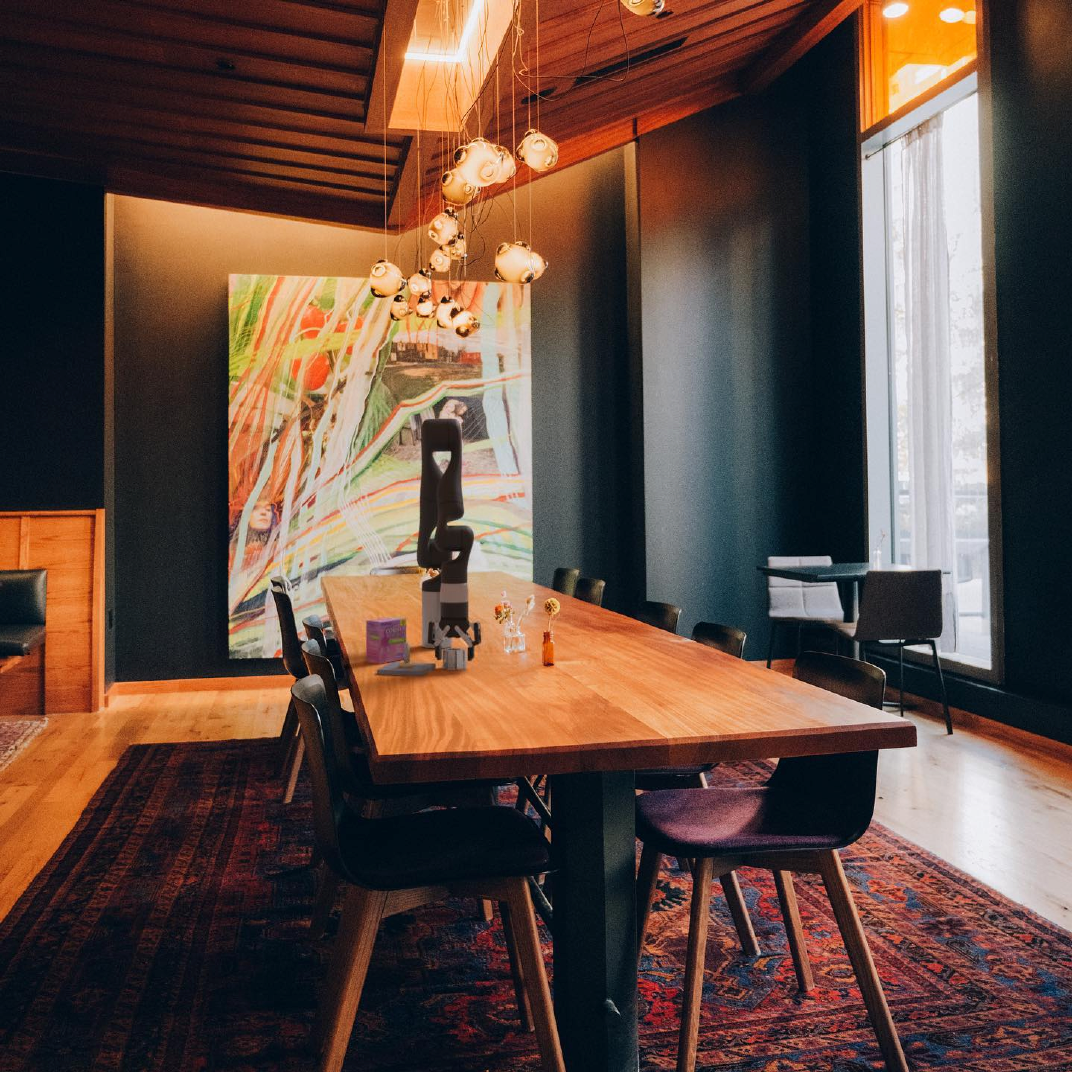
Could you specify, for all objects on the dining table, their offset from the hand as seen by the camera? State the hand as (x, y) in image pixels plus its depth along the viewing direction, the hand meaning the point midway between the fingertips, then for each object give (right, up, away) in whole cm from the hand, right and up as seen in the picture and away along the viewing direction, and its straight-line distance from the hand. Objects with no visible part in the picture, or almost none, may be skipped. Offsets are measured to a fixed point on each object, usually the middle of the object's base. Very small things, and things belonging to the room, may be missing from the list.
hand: (454, 660), depth 249 cm
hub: (0, -2, 0) cm, 2 cm away
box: (-20, -2, +12) cm, 23 cm away
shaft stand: (-12, -2, -4) cm, 13 cm away
